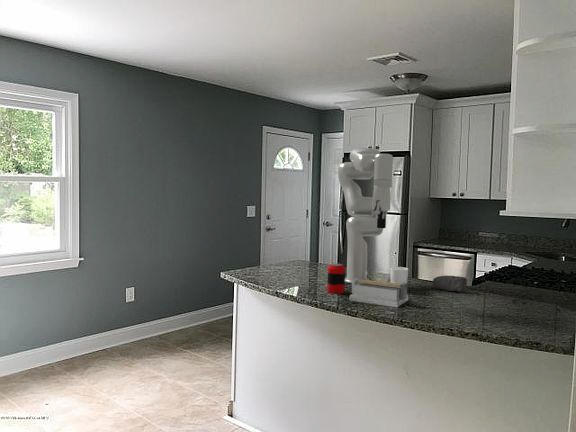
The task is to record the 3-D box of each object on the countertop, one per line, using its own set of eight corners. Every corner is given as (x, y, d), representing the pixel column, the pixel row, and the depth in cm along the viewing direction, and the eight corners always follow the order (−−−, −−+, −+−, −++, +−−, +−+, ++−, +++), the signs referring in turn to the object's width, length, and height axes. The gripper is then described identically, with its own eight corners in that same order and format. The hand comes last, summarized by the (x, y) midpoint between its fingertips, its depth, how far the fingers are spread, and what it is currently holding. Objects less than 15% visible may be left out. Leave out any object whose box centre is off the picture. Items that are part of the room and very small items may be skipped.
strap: (359, 281, 207) (359, 278, 207) (402, 285, 198) (402, 283, 198) (355, 282, 204) (355, 280, 204) (399, 287, 195) (399, 285, 195)
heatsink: (359, 293, 213) (360, 275, 212) (410, 300, 202) (411, 281, 201) (346, 300, 201) (347, 280, 200) (399, 307, 190) (400, 287, 189)
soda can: (343, 294, 211) (344, 266, 210) (326, 293, 212) (326, 265, 211) (345, 290, 218) (346, 263, 217) (328, 289, 220) (328, 262, 219)
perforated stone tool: (430, 289, 225) (430, 274, 224) (434, 287, 229) (434, 272, 228) (463, 294, 216) (464, 278, 215) (467, 292, 220) (467, 276, 220)
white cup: (396, 292, 216) (396, 270, 215) (386, 289, 223) (386, 267, 222) (411, 291, 219) (412, 269, 218) (400, 288, 226) (401, 266, 225)
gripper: (380, 183, 212) (378, 226, 214) (367, 183, 200) (366, 228, 201) (397, 184, 209) (395, 227, 210) (385, 184, 196) (384, 230, 197)
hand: (381, 227), depth 205 cm, fingers closed
